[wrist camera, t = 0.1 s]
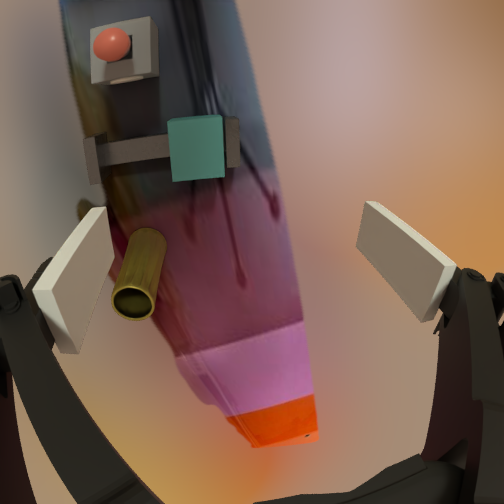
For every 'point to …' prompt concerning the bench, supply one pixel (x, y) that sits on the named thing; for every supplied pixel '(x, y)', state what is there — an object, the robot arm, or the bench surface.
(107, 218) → the robot arm
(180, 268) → the bench surface
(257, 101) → the bench surface
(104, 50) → the red ball knob
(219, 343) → the bench surface
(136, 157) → the rail
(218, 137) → the block
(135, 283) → the vase
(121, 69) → the grey cube housing
